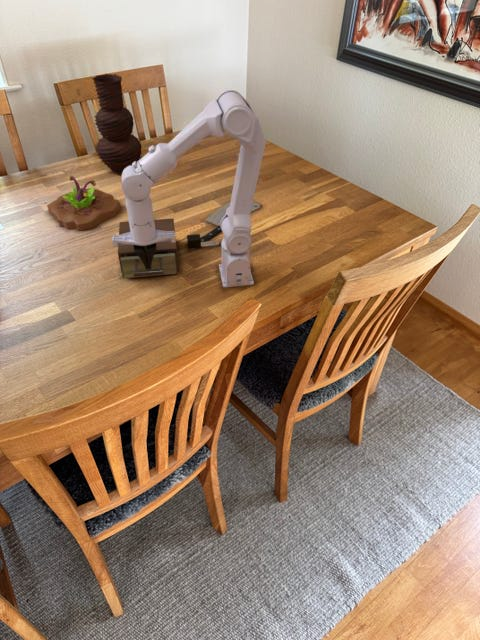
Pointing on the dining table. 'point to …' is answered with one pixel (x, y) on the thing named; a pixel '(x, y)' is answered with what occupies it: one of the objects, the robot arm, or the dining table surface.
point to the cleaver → (217, 218)
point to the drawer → (160, 265)
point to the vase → (115, 125)
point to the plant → (83, 207)
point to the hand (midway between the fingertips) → (148, 267)
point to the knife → (199, 242)
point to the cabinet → (161, 246)
